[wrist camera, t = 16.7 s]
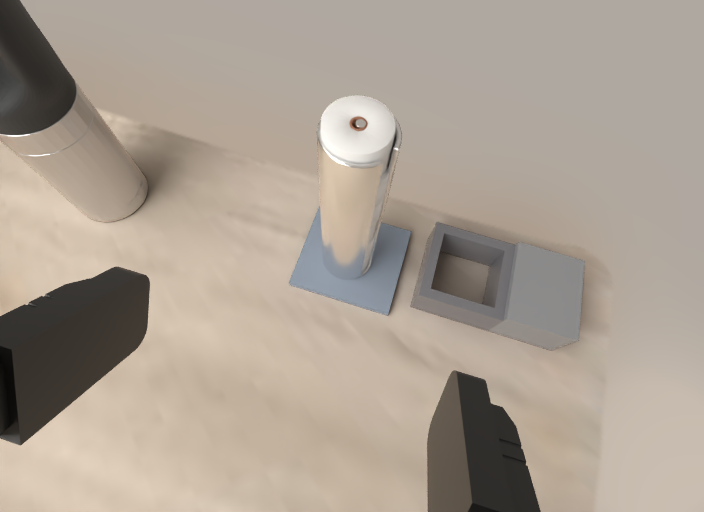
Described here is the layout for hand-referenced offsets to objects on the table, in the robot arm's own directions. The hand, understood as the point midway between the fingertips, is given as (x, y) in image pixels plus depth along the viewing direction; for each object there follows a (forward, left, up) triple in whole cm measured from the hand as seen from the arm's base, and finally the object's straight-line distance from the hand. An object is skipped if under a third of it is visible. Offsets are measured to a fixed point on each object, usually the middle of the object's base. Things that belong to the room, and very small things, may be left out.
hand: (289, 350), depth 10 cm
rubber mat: (-2, +19, -39) cm, 43 cm away
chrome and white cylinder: (-3, +19, -38) cm, 43 cm away
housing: (+16, +20, -39) cm, 46 cm away
